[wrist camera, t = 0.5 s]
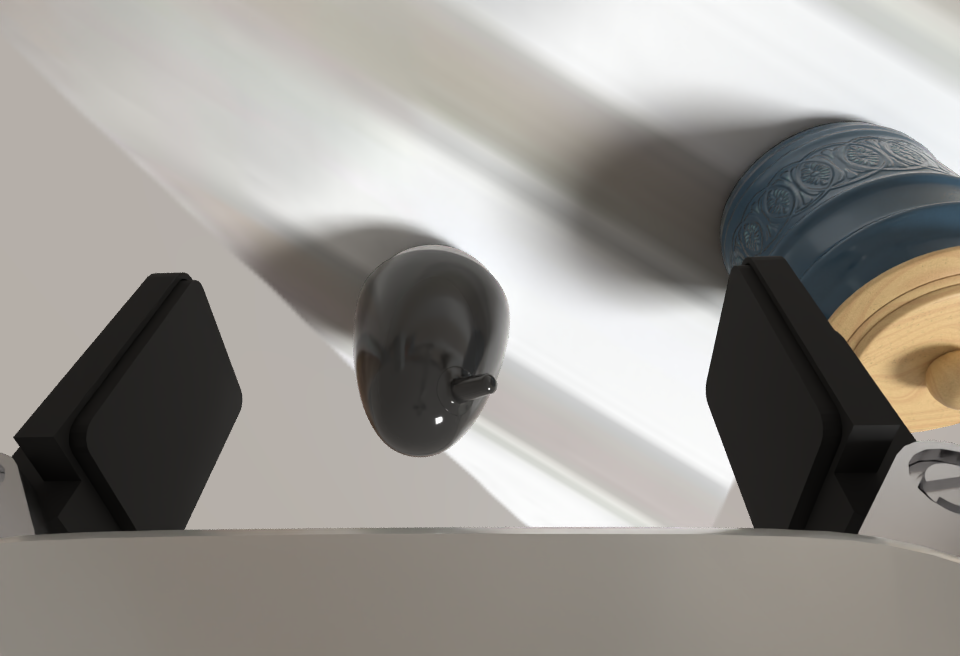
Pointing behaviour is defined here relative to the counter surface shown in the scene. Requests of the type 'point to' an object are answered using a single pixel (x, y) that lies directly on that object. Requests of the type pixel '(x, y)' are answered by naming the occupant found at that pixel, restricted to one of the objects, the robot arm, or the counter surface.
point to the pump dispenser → (428, 347)
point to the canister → (866, 252)
